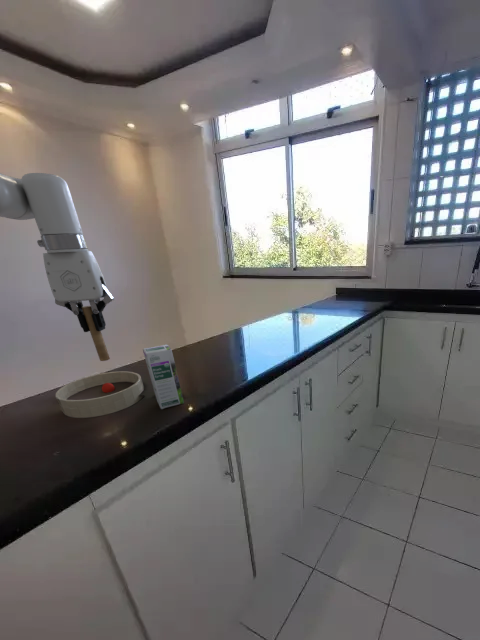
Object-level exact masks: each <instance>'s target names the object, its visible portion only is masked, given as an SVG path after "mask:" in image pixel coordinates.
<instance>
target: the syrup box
mask: <svg viewBox="0 0 480 640" xmlns="http://www.w3.org/2000/svg"><path fill="white" fill-rule="evenodd" d="M142 352H143V356H144V361H145V363H146V366H147V371H148V374H149V377H150V381H151V384H152V388H153V393H154V395H155V400H156V402H157V404H158V406H159V409H160V410H164V409H167V408H171V407H175V406H178V405H183V404H185V401H184V396H183V392H182V388H181V384H180V380H179V375H178V371H177V366H176V362H175V358H174V354H173V350H172V348H171V347H170V345H168V344H161V345H156V346H151V347H143V348H142Z"/></svg>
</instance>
